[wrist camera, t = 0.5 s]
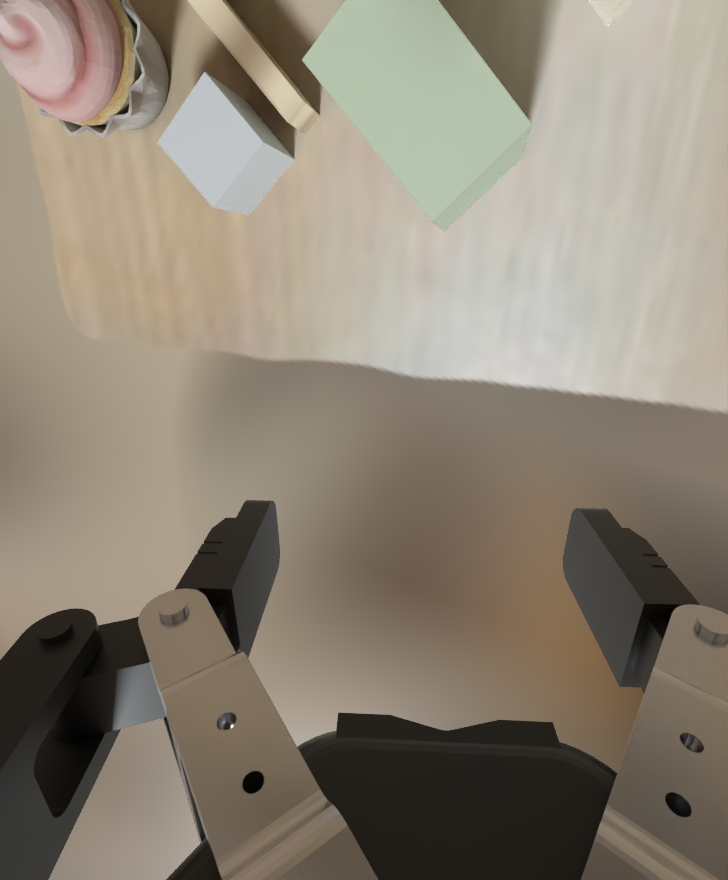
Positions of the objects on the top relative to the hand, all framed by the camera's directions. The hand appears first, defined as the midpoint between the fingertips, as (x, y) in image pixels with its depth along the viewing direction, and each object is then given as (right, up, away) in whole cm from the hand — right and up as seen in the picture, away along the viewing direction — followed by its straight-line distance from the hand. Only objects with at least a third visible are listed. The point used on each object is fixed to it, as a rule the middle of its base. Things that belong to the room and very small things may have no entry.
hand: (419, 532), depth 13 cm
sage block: (+3, +22, +17) cm, 28 cm away
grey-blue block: (-10, +22, +20) cm, 31 cm away
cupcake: (-18, +28, +20) cm, 39 cm away
